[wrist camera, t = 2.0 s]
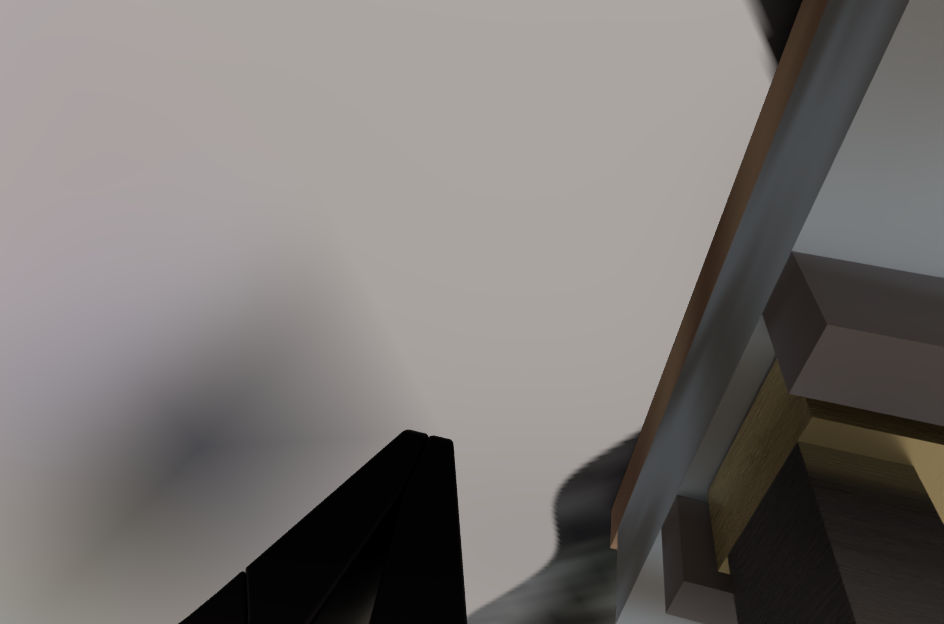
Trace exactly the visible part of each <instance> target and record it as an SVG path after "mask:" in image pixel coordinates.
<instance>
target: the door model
mask: <svg viewBox="0 0 944 624" xmlns="http://www.w3.org/2000/svg"><path fill="white" fill-rule="evenodd" d="M776 359H777V360H778V363H779V366H780V369H781V372H782V375H783V378H784V381H785V384H786V387H787V390H788V393H789V394H792V395H797V396H802V397H807V398H811V399H816V400H821V401H826V402H831V403H835V404H840V405H845V406H850V407H855V408H859V409H864V410H869V411H874V412H878V413H883V414H888V415H893V416H898V417H902V418H907V419H912V420H917V421H921V422H926V423H931V424H936V425H941V426H944V0H802V3H801V6H800V8H799V11H798V14H797V16H796V19H795V22H794V24H793V27H792V30H791V32H790V35H789V38H788V40H787V43H786V46H785V48H784V51H783V54H782V56H781V59H780V62H779V64H778V67H777V70H776V72H775V75H774V78H773V80H772V83H771V86H770V88H769V91H768V94H767V96H766V99H765V102H764V104H763V107H762V110H761V112H760V115H759V118H758V120H757V123H756V126H755V129H754V131H753V134H752V136H751V139H750V142H749V145H748V147H747V150H746V152H745V155H744V158H743V160H742V163H741V166H740V169H739V171H738V174H737V177H736V179H735V182H734V185H733V187H732V190H731V192H730V195H729V198H728V200H727V203H726V206H725V208H724V211H723V214H722V216H721V219H720V222H719V224H718V227H717V230H716V232H715V235H714V238H713V241H712V243H711V246H710V249H709V251H708V254H707V257H706V259H705V262H704V264H703V267H702V270H701V272H700V275H699V278H698V281H697V283H696V286H695V288H694V291H693V294H692V296H691V299H690V302H689V304H688V307H687V310H686V312H685V315H684V318H683V320H682V323H681V326H680V328H679V331H678V334H677V336H676V339H675V342H674V344H673V347H672V350H671V352H670V355H669V358H668V360H667V363H666V366H665V368H664V371H663V374H662V376H661V379H660V382H659V385H658V387H657V390H656V392H655V395H654V398H653V400H652V403H651V406H650V409H649V411H648V414H647V416H646V419H645V422H644V424H643V427H642V430H641V432H640V435H639V438H638V440H637V443H636V446H635V448H634V451H633V454H632V456H631V459H630V462H629V464H628V467H627V470H626V472H625V475H624V478H623V480H622V483H621V486H620V488H619V491H618V494H617V496H616V499H615V502H614V504H613V507H612V512H611V544H610V548H613V549H617V590H616V624H738V622H737V615H736V609H735V602H734V596H733V589H732V583H731V576H730V574H727V573H723V572H719V571H718V568H717V561H716V553H715V546H714V539H713V531H712V524H711V516H710V509H709V502H708V494H707V492H708V490H709V488H710V486H711V484H712V482H713V480H714V478H715V476H716V474H717V473H718V471H719V469H720V467H721V465H722V463H723V461H724V459H725V457H726V455H727V453H728V451H729V449H730V447H731V445H732V444H733V442H734V440H735V438H736V436H737V434H738V432H739V430H740V428H741V426H742V424H743V422H744V420H745V418H746V416H747V415H748V413H749V411H750V409H751V407H752V405H753V403H754V401H755V399H756V397H757V395H758V393H759V391H760V389H761V387H762V386H763V384H764V382H765V380H766V378H767V376H768V374H769V372H770V370H771V368H772V366H773V364H774V362H775V360H776Z"/></svg>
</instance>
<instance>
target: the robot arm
mask: <svg viewBox="0 0 944 624" xmlns="http://www.w3.org/2000/svg"><path fill="white" fill-rule="evenodd" d="M179 624H467V615H466V602H465V588H464V576H463V563H462V549H461V536H460V523H459V510H458V498H457V484H456V471H455V458H454V446H453V442H452V440H450V439H446V438H442V437H438V436H430V437H428V435H427V434H425V433H421V432H417V431H413V430H405V431H403V432H402V433H400V434H399V435H398V436H397V437H396V438H395V439H394V440H392V441H391V442H390V443H389V444H388V445H387V446H385V448H383V449H382V450H381V451H380V452H379V453H377V454H376V455H375V456H374V457H373V458H372V459H371V460H369V461H368V462H367V463H366V464H365V465H364V466H363V467H361V468H360V469H359V470H358V471H357V472H356V473H355V474H353V475H352V476H351V477H350V478H349V479H348V480H346V481H345V482H344V483H343V484H342V485H341V486H339V488H337V489H336V490H335V491H334V492H333V493H331V494H330V495H329V496H328V497H327V498H326V499H325V500H324V501H322V502H321V503H320V504H319V505H318V506H316V507H315V508H314V509H313V510H312V511H311V512H310V513H308V514H307V515H306V516H305V517H304V518H303V519H301V520H300V521H299V522H298V523H297V524H296V525H295V526H293V527H292V528H291V529H290V530H289V531H288V532H287V533H286V534H284V535H283V536H282V537H281V538H280V539H278V540H277V541H276V542H275V543H274V544H273V545H272V546H271V547H269V548H268V549H267V550H266V551H265V552H264V553H262V554H261V555H260V556H259V557H258V558H257V559H256V560H254V561H253V562H252V563H251V564H250V565H249V566H248V567H246V573H245V572H243V571H242V572H240V573H239V574H238V575H237V576H236V577H234V578H233V579H232V580H231V581H230V582H229V583H228V584H227V585H225V586H224V587H223V588H222V589H221V590H220V591H218V592H217V593H216V594H215V595H213V597H211V598H210V599H209V600H207V601H206V602H205V603H204V604H203V605H201V606H200V607H199V608H198V609H197V610H195V611H194V612H193V613H192V614H190V615H189V616H188V617H187V618H185V619H184V620H183V621H181V622H180V623H179Z"/></svg>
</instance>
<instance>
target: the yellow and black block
mask: <svg viewBox="0 0 944 624" xmlns="http://www.w3.org/2000/svg"><path fill="white" fill-rule="evenodd" d="M707 494H708V502H709V509H710V516H711V524H712V531H713V539H714V546H715V553H716V561H717V568H718V571H719V572H723V573H727V574H730V576H731V583H732V589H733V596H734V602H735V609H736V615H737V622H738V624H944V426H941V425H936V424H931V423H926V422H921V421H917V420H912V419H907V418H902V417H898V416H893V415H888V414H883V413H878V412H874V411H869V410H864V409H859V408H855V407H850V406H845V405H840V404H835V403H831V402H826V401H821V400H816V399H811V398H807V397H802V396H797V395H792V394H789V393H788V390H787V387H786V384H785V381H784V378H783V375H782V372H781V369H780V366H779V363H778V360H777V359H776V360H775V362H774V364H773V366H772V368H771V370H770V372H769V374H768V376H767V378H766V380H765V382H764V384H763V386H762V387H761V389H760V391H759V393H758V395H757V397H756V399H755V401H754V403H753V405H752V407H751V409H750V411H749V413H748V415H747V416H746V418H745V420H744V422H743V424H742V426H741V428H740V430H739V432H738V434H737V436H736V438H735V440H734V442H733V444H732V445H731V447H730V449H729V451H728V453H727V455H726V457H725V459H724V461H723V463H722V465H721V467H720V469H719V471H718V473H717V474H716V476H715V478H714V480H713V482H712V484H711V486H710V488H709V490H708V492H707Z"/></svg>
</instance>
